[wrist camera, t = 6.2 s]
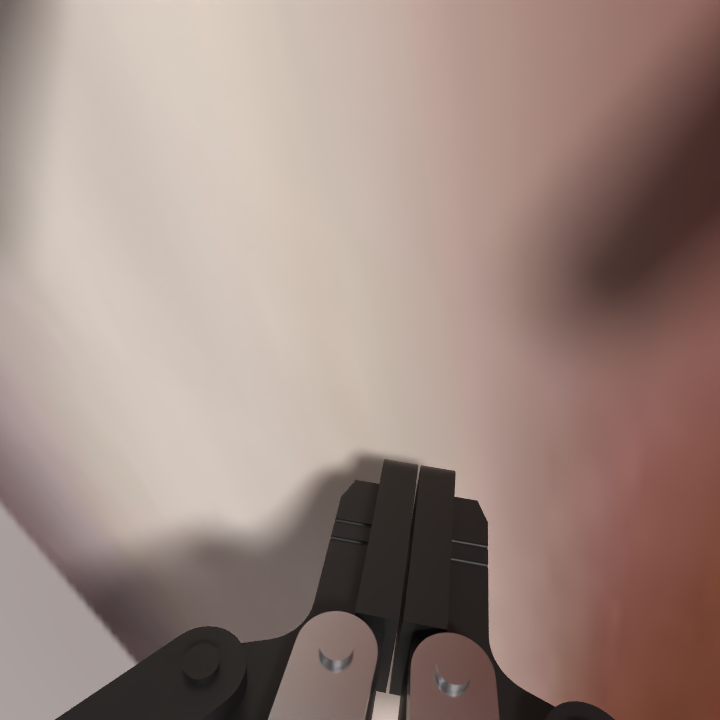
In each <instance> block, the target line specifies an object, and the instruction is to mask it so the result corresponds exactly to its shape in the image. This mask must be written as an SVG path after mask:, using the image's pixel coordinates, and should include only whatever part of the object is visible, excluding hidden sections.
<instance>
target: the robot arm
mask: <svg viewBox="0 0 720 720" xmlns="http://www.w3.org/2000/svg"><path fill="white" fill-rule="evenodd" d="M417 471H418V465H415V464H409V463H403V462H397V461H391V460H384V464H383V469H382V474H381V479H380V484H376V483H370V482H364V481H358V480H355V482H354V483H353V484H352V485H351V486H350V487H349V489H348V490H347V491H346V492H345V493H344V494H343V495H342V497H341V500H340V504H339V508H338V512H337V515H336V520H335V523H334V527H333V531H332V535H331V540H330V543H329V547H328V550H327V554H326V558H325V562H324V566H323V570H322V574H321V578H320V582H319V586H318V589H317V593H316V597H315V601H314V604H313V607H312V610H311V612H310V614H309V615H308V617H307V618H306V619H305V621H304V622H303V623H302V624H301V625H300V626H299V627H298V628H296V629H295V630H293V631H292V632H290V633H288V634H286V635H284V636H281V637H278V638H274V639H270V640H262V641H255V642H247V643H240V641H239V640H238V639H237V638H236V637H235V635H233V634H232V633H230V632H229V631H227V630H225V629H222V628H218V627H211V626H207V627H199V628H195V629H192V630H190V631H187V632H185V633H184V634H182V635H180V636H179V637H177V638H176V639H174V640H173V641H171V642H170V643H168V644H167V645H165V646H164V647H162V648H161V649H159V650H158V651H156V652H155V653H153V654H152V655H150V656H149V657H147V658H146V659H144V660H143V661H142V662H140V663H139V664H137V665H136V666H134V667H133V668H131V669H130V670H128V671H127V672H125V673H124V674H122V675H121V676H119V677H118V678H116V679H115V680H113V681H112V682H110V683H109V684H107V685H106V686H104V687H103V688H101V689H100V690H98V691H97V692H96V693H94V694H92V695H91V696H89V697H88V698H86V699H85V700H84V701H82V702H81V703H79V704H78V705H76V706H75V707H73V708H72V709H70V710H69V711H67V712H66V713H64V714H63V715H61V716H60V717H58V718H57V719H55V720H371V719H372V713H373V707H374V701H375V695H376V691H379V692H384V693H386V688H387V682H388V677H389V671H390V666H391V660H392V655H393V650H394V644H395V651H394V659H393V667H392V675H391V683H390V691H389V693H390V694H395V695H400V696H401V697H400V706H399V715H398V720H614V719H613V718H612V717H611V716H610V715H609V714H607V713H606V712H604V711H603V710H601V709H600V708H597V707H595V706H593V705H591V704H588V703H584V702H578V701H573V702H566V703H562V704H560V705H558V706H556V707H554V706H552V705H551V704H549V703H547V702H545V701H543V700H542V699H540V698H538V697H536V696H534V695H532V694H531V693H529V692H527V691H525V690H524V689H522V688H520V687H519V686H517V685H516V684H515V683H514V682H512V681H511V680H510V679H509V678H508V677H507V676H506V675H505V674H504V673H503V671H502V670H501V669H500V667H499V666H498V664H497V663H496V661H495V659H494V657H493V654H492V652H491V648H490V644H489V620H488V549H487V547H488V522H487V520H486V518H485V516H484V514H483V511H482V509H481V507H480V505H479V503H478V501H476V500H470V499H464V498H458V497H454V493H455V471H452V470H446V469H440V468H434V467H428V466H422V465H421V468H420V473H419V479H418V484H417V490H416V496H415V502H414V495H415V487H416V479H417ZM413 503H414V507H413ZM412 511H413V513H412ZM396 633H397V635H396ZM395 639H396V643H395Z"/></svg>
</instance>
